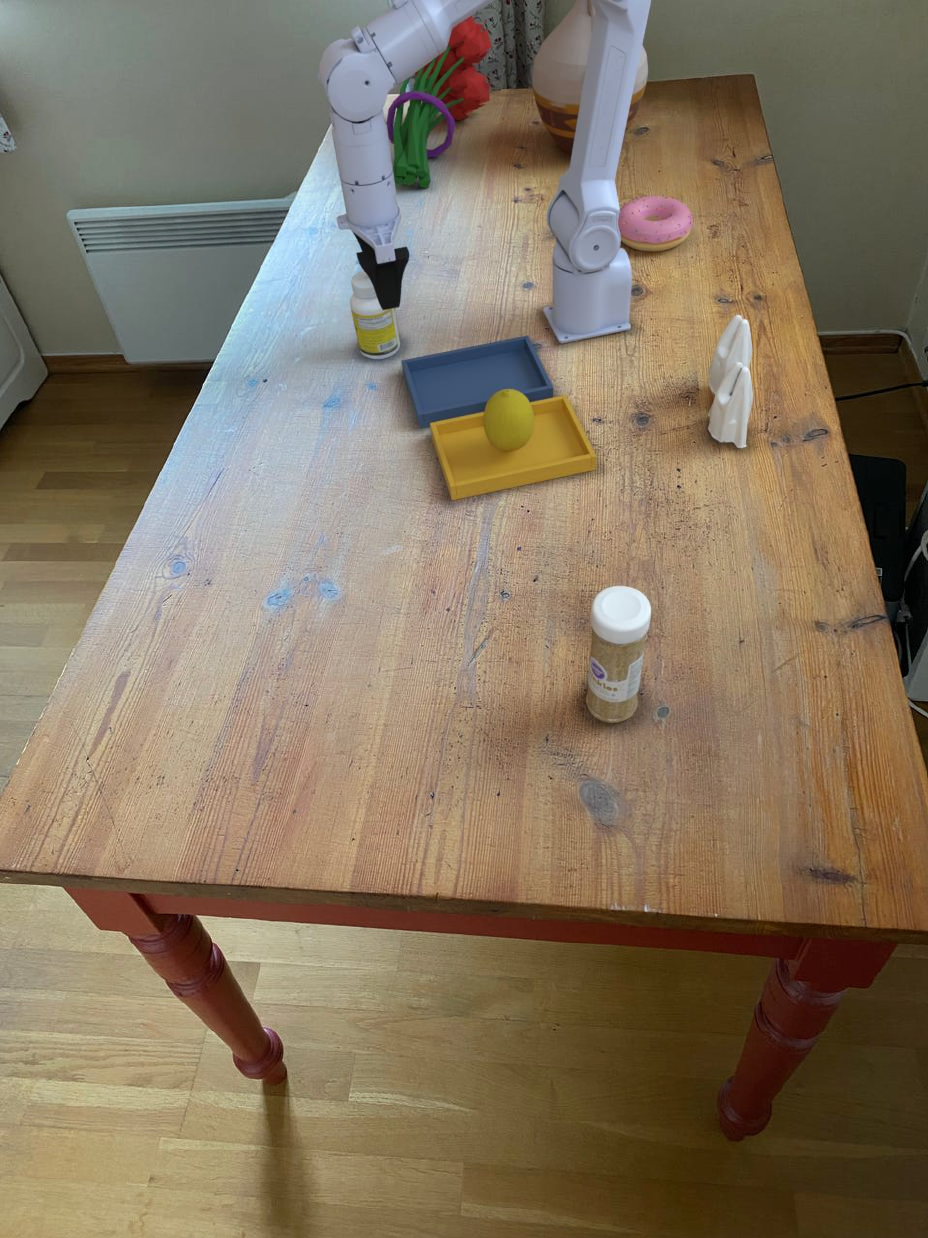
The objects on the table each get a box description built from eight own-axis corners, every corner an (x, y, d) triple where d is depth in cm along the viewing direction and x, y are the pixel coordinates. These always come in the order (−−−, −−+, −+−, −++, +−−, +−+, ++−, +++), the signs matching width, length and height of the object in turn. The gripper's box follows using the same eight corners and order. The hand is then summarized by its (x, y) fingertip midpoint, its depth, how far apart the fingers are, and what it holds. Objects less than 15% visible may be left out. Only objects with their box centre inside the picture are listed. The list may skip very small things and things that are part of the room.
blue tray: (528, 348, 112) (528, 334, 111) (553, 401, 105) (553, 387, 104) (403, 373, 111) (401, 360, 109) (420, 428, 104) (418, 414, 102)
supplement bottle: (368, 334, 117) (355, 264, 110) (406, 338, 116) (396, 268, 108) (353, 358, 114) (338, 288, 106) (392, 362, 113) (381, 292, 105)
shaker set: (705, 380, 105) (719, 296, 97) (742, 381, 105) (759, 296, 96) (707, 447, 98) (722, 361, 90) (746, 448, 97) (765, 363, 89)
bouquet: (374, 225, 148) (412, 109, 161) (470, 228, 145) (501, 109, 157) (345, 113, 131) (391, -8, 143) (454, 114, 127) (491, -10, 140)
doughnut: (669, 211, 131) (672, 182, 128) (705, 245, 124) (709, 216, 121) (601, 228, 130) (602, 199, 126) (633, 263, 123) (636, 234, 120)
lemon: (530, 467, 97) (529, 408, 91) (481, 464, 98) (476, 405, 92) (538, 435, 101) (537, 376, 95) (490, 432, 102) (486, 373, 96)
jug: (649, 173, 139) (669, -61, 116) (535, 181, 140) (532, -49, 117) (636, 119, 151) (651, -102, 128) (531, 127, 153) (527, -90, 129)
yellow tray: (566, 408, 104) (566, 394, 103) (595, 469, 97) (596, 455, 96) (431, 436, 103) (429, 422, 101) (451, 500, 96) (450, 486, 94)
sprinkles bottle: (575, 707, 78) (579, 610, 68) (605, 673, 80) (613, 574, 70) (619, 734, 76) (630, 638, 66) (648, 699, 78) (663, 600, 68)
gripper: (320, 151, 99) (342, 265, 109) (339, 211, 90) (361, 329, 100) (382, 140, 99) (398, 255, 110) (407, 198, 90) (422, 317, 101)
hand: (384, 289), depth 105 cm, fingers open, 7 cm apart
